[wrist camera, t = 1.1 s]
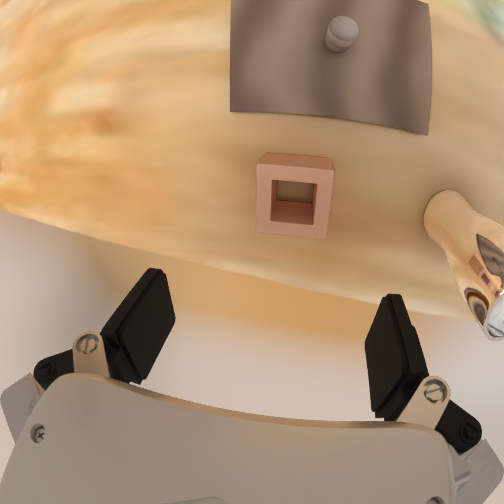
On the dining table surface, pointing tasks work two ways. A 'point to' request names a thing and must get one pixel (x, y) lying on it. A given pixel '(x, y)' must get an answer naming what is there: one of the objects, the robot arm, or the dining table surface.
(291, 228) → the bead
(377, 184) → the dining table surface
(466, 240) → the beer glass
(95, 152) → the dining table surface
